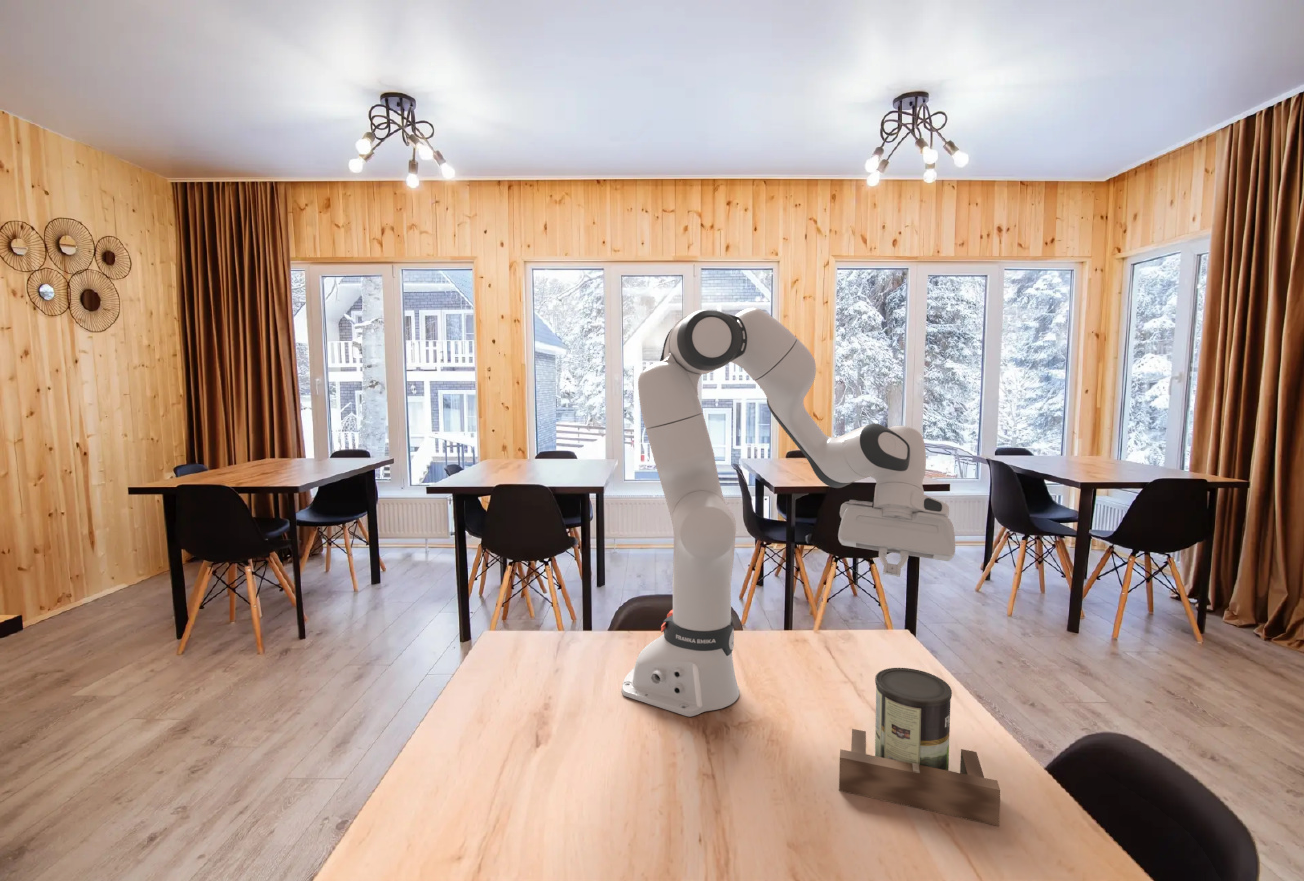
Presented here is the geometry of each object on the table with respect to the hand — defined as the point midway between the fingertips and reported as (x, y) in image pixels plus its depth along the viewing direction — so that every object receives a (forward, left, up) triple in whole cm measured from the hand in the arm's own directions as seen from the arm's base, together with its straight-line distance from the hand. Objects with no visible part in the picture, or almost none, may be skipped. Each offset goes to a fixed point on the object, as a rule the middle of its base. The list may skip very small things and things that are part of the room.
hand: (891, 574), depth 105 cm
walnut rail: (+2, -25, -24) cm, 35 cm away
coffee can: (+2, -22, -24) cm, 32 cm away
